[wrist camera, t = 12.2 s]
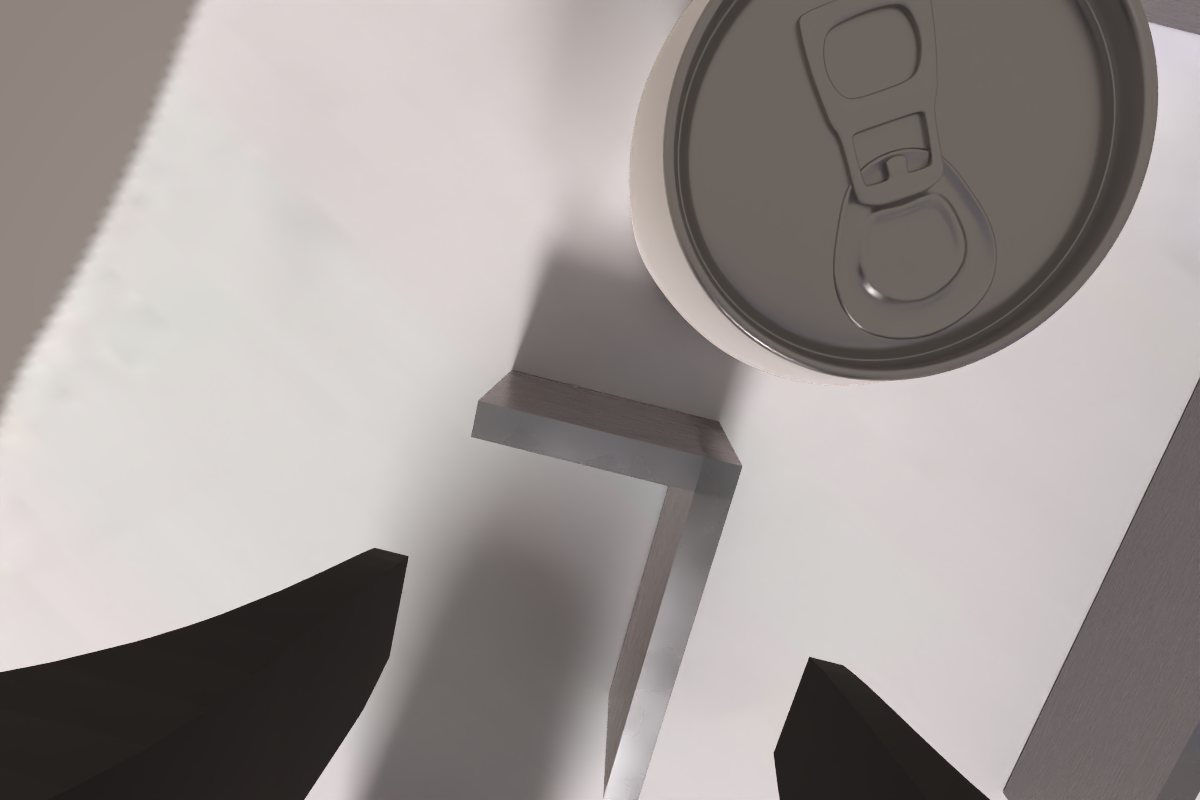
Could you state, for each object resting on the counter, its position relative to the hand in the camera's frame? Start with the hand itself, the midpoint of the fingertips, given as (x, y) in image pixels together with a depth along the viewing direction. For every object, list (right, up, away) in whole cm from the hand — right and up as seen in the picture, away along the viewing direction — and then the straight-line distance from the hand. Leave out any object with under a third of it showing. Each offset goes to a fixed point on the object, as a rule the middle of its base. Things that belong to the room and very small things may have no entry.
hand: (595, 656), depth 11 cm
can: (+4, +10, +8) cm, 14 cm away
